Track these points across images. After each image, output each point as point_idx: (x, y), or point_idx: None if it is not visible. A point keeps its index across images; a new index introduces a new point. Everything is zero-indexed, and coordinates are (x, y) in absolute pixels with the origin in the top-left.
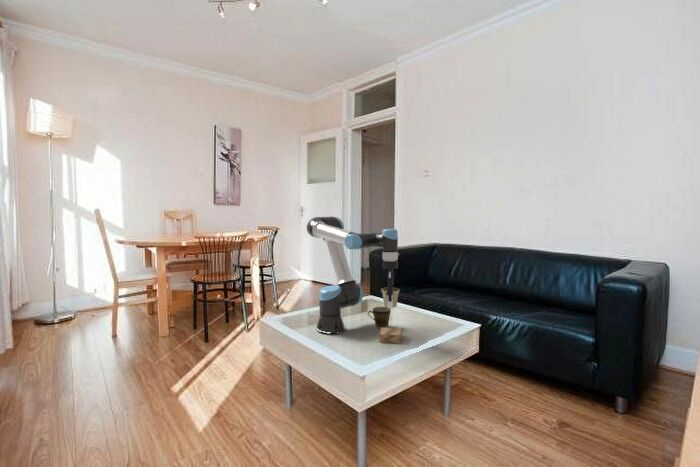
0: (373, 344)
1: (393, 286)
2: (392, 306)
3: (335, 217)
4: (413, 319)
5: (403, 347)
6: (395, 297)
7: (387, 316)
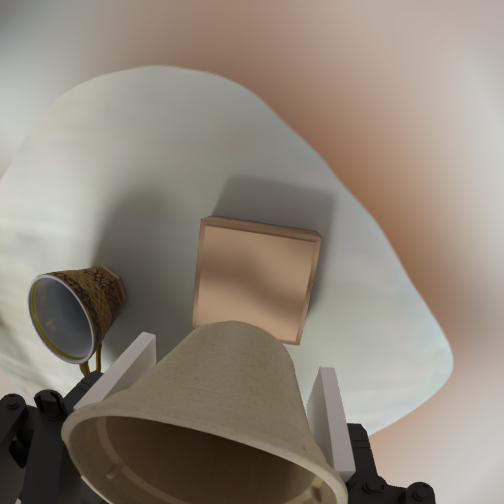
0: (316, 350)
1: (11, 406)
2: (334, 379)
3: None
4: (33, 149)
5: (362, 232)
6: (299, 408)
7: (94, 288)
